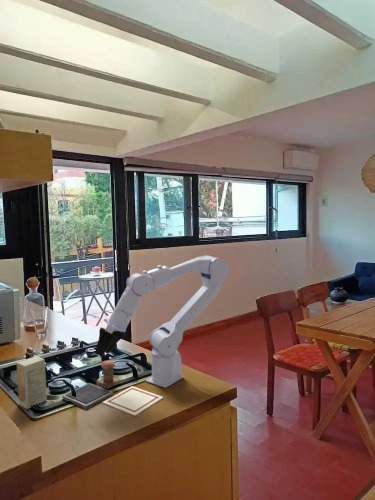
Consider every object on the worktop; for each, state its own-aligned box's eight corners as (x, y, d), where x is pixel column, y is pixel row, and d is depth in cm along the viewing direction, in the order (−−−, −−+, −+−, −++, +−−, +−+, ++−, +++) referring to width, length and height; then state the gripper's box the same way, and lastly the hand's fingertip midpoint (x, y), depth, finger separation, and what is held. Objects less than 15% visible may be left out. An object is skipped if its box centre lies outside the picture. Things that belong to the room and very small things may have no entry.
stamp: (108, 380, 123) (108, 358, 122) (120, 384, 120) (119, 362, 119) (96, 385, 119) (96, 363, 118) (108, 390, 116) (107, 367, 115)
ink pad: (89, 386, 118) (89, 382, 118) (113, 395, 113) (113, 391, 113) (62, 399, 110) (62, 395, 110) (86, 409, 105) (86, 405, 104)
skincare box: (39, 396, 112) (37, 355, 111) (47, 400, 109) (46, 358, 108) (17, 404, 107) (15, 361, 106) (25, 409, 104) (23, 365, 103)
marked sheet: (132, 386, 118) (132, 385, 118) (163, 397, 111) (163, 396, 111) (102, 403, 108) (102, 401, 108) (135, 416, 101) (135, 414, 101)
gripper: (117, 305, 122) (96, 344, 121) (106, 304, 108) (82, 349, 106) (137, 316, 122) (116, 355, 120) (128, 316, 107) (104, 361, 106)
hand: (101, 353), depth 113 cm, fingers open, 7 cm apart
